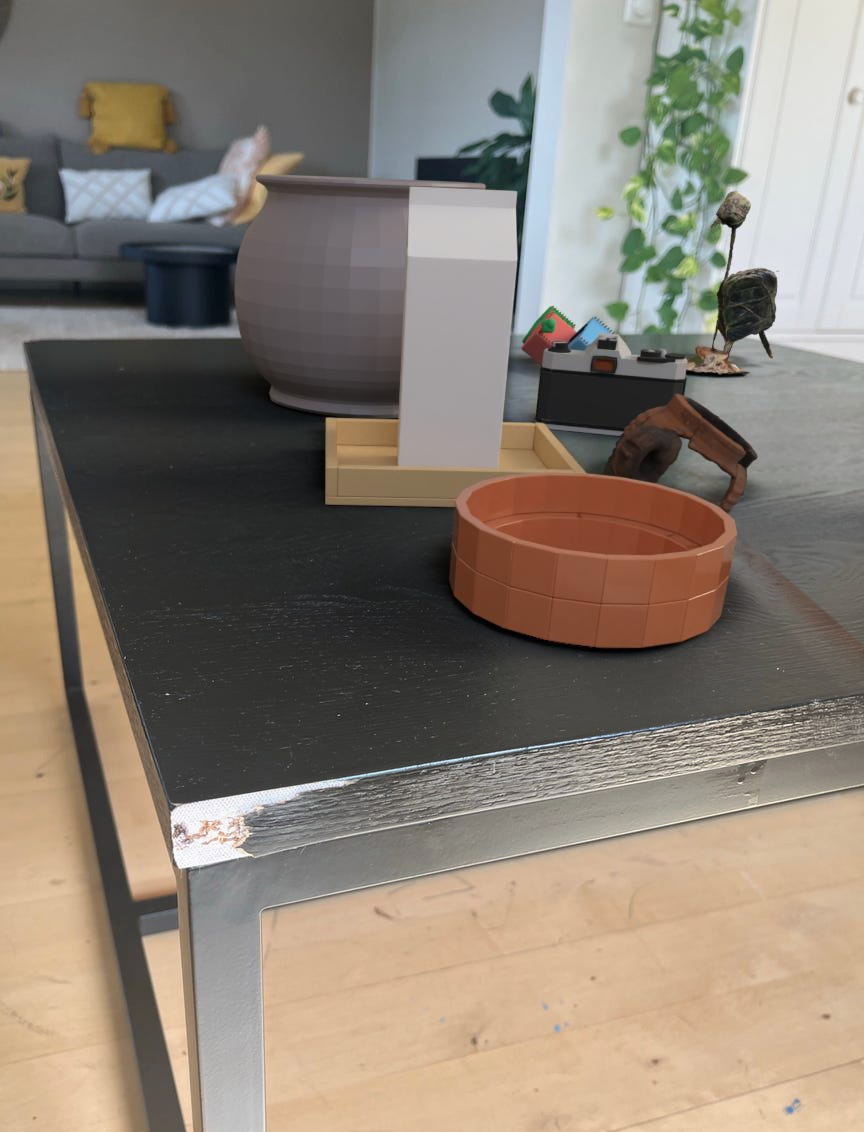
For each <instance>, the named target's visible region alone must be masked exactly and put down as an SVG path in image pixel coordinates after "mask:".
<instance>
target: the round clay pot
mask: <svg viewBox="0 0 864 1132" xmlns="http://www.w3.org/2000/svg"><path fill="white" fill-rule="evenodd" d="M254 178H255V181H256V182H257V183H259V184H260V185H262V186H263V187H264V188H265V189H266V192H267V194H266V195H267V196H266V200H265V201H264V203H263V205H262V207H261V208H260V210H259V212H258V213H257V214H256V216H255V217H254V218H253V220H252V221H251V222H250V224H249V225H248V228H247V230H246V232H245V233H244V235H243V237H242V241H241V243H240V246H239V249H238V253H237V258H236V265H235V271H234V305H235V314H236V321H237V326H238V330H239V336H240V338H241V341H242V344H243V347H244V349H245V351H246V354H247V356H248V358H249V360H250V362H251V364H252V365H253V366H254V368H255V369H256V371H257V372H258V373H259V374H260V375H261V376H262V378H264V379H265V380H266V381H267V382H268V383H269V384H270V385H271V386H270V389H269V392H268V394H269V398H270V400H271V401H272V402H273V403H275V404H276V405H279V406H282V407H286V408H288V409H293V410H297V411H301V412H304V413H305V412H306V413H311V414H317V415H324V416H331V417H338V418H357V419H398V418H399V396H400V374H401V351H402V329H403V307H404V285H405V263H406V243H407V227H408V211H409V192H410V187H433V188H456V189H480V190H486V188H487V187H486V184H484V183H481V182H465V181H446V180H445V181H444V180H443V181H442V180H423V179H422V180H421V179H401V178H400V179H399V178H398V179H397V178H374V177H373V178H372V177H352V176H351V177H349V176H326V175H325V176H324V175H323V176H322V175H297V174H296V175H295V174H263V173H262V174H256V175H255V177H254Z"/></svg>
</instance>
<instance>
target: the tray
mask: <svg viewBox="0 0 864 1132" xmlns="http://www.w3.org/2000/svg"><path fill="white" fill-rule="evenodd" d="M397 440H398V418H385V419H374V418H352V417H325V443H324V445H325V447H324V450H325V451H324V456H325V457H324V462H325V464H324V466H325V467H324V468H325V469H324V484H325V486H324V488H325V489H324V492H325V493H324V500H325V502H324V504H325V505H326V506H327V505H328V506H369V507H370V506H371V507H373V506H375V507H378V506H379V507H380V506H381V507H425V508H426V507H428V508H454V506H455V501H456V499H457V498H458V496H459V495H460V493H461V492H462V491H463V490H464V489H466V488H468V487H470V486H472V485H474V484H476V483H479V482H481V481H483V480H488V479H493V478H497V477H502V476H507V475H515V474H528V473H542V472H544V473H545V472H558V473H587V472H586V471H585V470H584V468H583V467H582V466H581V465H580V464H579V463H578V461H577V460H576V459H575V458H574V457H573V455H572V454H571V453H570V452H569V451H568V450H567V448H565V446H564V445H563V444H562V443H561V442H560V441H559V439H558V438H557V437H556V436H555V434H553V432H552V431H551V429H548V428H547V427H546V426H545V424H544V423H536V422H510V421H503V422H502V433H501V444H500V455H499V466H498V468H467V467H422V466H397Z"/></svg>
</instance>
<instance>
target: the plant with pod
mask: <svg viewBox="0 0 864 1132" xmlns="http://www.w3.org/2000/svg"><path fill="white" fill-rule="evenodd" d="M751 207H752V204H751V202H750V200H749V199H748V198H747V197H746V196H743V195H742V194H741V193H739V192H738V191H737V190H733V191H729V192H728V193H727V195H725V199H724V200H723V202H722V203H721V204H720V205H719V207H718V209H717V211H716V213H715V216H716V219H715V220H713V223H712V224H711V225H710V228H711V229H714V228H716V227H717V225H722V226H727V227H728V228H730V230H731V231H730V239H729V240H730V241H729V252H728V258H727V264H726V270H725V272H724V277H723V280H722V281H720V285H719V287H718V290H717V292H716V297H717V320H716V322H715V330H714V334H713V337H712V343H711V347H709V346H705V345H700V344H697V346H696V347H695V348H694V349H695V350H694V351H695V354H693V355H692V356H689V357H685V358H686V360H687V368H686V371H688V372H694V373H702V372H704V373H714V374H716V373H717V374H718V375H723V374H726V375H733V374H742V375H743V374H744V375H749V374H751V373H750V371H745V370H743V368H741V367H740V366H739V365H736V363H735V362H734V361H729V358H730V353H731V351H732V348H733V346H734V343H736V342H738V341H740V340H743V339H745V338H747V337H749V336H752V335H753V336H758V337H759V340H760V342H761V344H762V347H763V349H764V350H765V352H766V354H767V355H768V358H770V359H773V358H774V354H773V353H774V352H773V350H772V348H771V344H770V343H769V340H768V337H767V336H766V335H767V334H765V331H767V330H769V329H770V328H771V327H773V324H774V323H775V321H776V318H777V315H776V312H777V305H776V297H777V293H778V288H779V287H778V277H777V275H776V273H777V272H779V270H776V273H775V271H773V270H770V269H768V268H765V267H755V268H754V267H753V268H750V269H746V270H739V271H737V272H736V273H731V274H730V273H729V272H730V270H731V266H732V261H733V253H734V252H733V250H734V244H735V241H736V236H737V233H736V232H737V229H738V228H740V227H742V225H743V224H744V222H745V221H746V219H747V215H748V214H749V212H750V210H751ZM718 333H720V335H721V336H722V338H723V341H724V346H723V350H721V349H718V348H715V340H716V338H717V334H718Z"/></svg>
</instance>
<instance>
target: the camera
mask: <svg viewBox="0 0 864 1132" xmlns="http://www.w3.org/2000/svg"><path fill="white" fill-rule="evenodd" d="M686 358H687V357H686V355H685V354H681V353H673V352H672V353H670V352H669V353H667V350H666V348H659V349H654V348H653V349H652V348H643V349H640V354H632V352H631V350H630V347H628V345H627V343H626V342H625V341H624V339H623V338H622V337H621V336H620V334H619V333H615V334H608V333H600V334H599V336H598V337H597V338H596V339H595V340H594V341H593V342H592V343H591V344H590V345H589V346H588V347H587V348H586V349H585V350H584V351H581V350H570V349H569V348H568V342H565V341H553V342H552V347H551V348H549V349H545V350H544V354H543V363H542V365H540V370H539V379H538V388H537V399H536V408H535V409H536V410H535V419H534V420H535V423H544V424H545V426H546V427H547V428H548V429H549V430H557V431H567V432H576V433H586V434H587V433H588V434H596V435H607V436H616V437H617V436H618V437H620V435H621V434H622V433H624V429H625V428H626V427H627V426H629V425H630V423H631V421H633V420H634V419H636V418H637V416H638V415H639V414H642V413H644V412H645V411H647V410H649V409H653V408H656V407H662V406H666V405H667V404H668V403H669V402H670V400H671V399H672V398H673V396H674V395H675V394H680V395H683V396H685V391H686V386H687V380H688V377H687V374H686V373H687V370H686V368H687V360H686Z"/></svg>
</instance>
